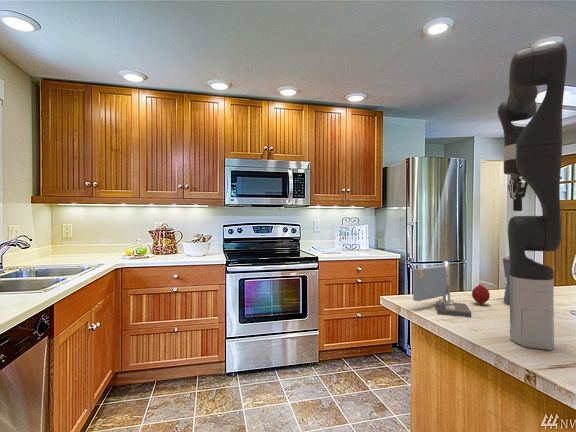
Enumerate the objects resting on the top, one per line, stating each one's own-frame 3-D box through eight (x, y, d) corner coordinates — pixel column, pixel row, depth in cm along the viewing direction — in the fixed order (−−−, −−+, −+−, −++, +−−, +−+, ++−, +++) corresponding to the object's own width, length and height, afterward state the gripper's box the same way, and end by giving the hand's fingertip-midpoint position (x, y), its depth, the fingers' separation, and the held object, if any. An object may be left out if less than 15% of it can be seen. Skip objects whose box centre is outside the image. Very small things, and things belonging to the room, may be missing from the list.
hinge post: (454, 305, 120) (454, 262, 120) (439, 304, 122) (439, 262, 122) (452, 302, 125) (452, 261, 125) (438, 301, 127) (438, 260, 127)
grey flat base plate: (471, 317, 106) (471, 310, 106) (438, 314, 110) (438, 307, 110) (465, 307, 118) (465, 301, 118) (435, 305, 121) (435, 299, 121)
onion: (492, 306, 119) (492, 285, 119) (475, 306, 120) (475, 284, 120) (486, 302, 124) (486, 282, 124) (469, 302, 125) (469, 281, 126)
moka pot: (508, 307, 117) (508, 252, 117) (496, 297, 132) (496, 248, 132) (540, 310, 114) (539, 253, 114) (524, 299, 129) (523, 249, 129)
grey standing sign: (418, 301, 113) (418, 270, 113) (412, 299, 115) (412, 269, 115) (446, 295, 121) (446, 266, 121) (440, 294, 124) (439, 265, 124)
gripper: (538, 154, 100) (538, 210, 100) (523, 161, 113) (524, 211, 113) (509, 156, 103) (510, 210, 103) (498, 163, 115) (499, 211, 115)
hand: (517, 210), depth 108 cm, fingers closed
